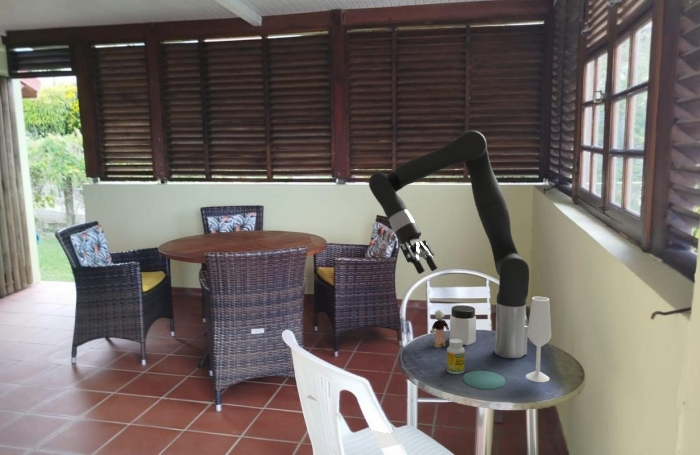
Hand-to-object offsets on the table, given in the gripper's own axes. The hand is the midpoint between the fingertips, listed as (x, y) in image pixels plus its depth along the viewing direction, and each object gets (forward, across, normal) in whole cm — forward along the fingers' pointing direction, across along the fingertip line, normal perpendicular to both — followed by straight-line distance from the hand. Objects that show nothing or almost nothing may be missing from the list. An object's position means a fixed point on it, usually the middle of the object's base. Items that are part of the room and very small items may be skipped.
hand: (428, 271), depth 172 cm
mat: (+36, -3, 0) cm, 36 cm away
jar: (+24, +25, +14) cm, 37 cm away
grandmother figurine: (+22, +16, +18) cm, 33 cm away
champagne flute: (+43, +8, -11) cm, 45 cm away
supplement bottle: (+31, -1, +8) cm, 32 cm away
